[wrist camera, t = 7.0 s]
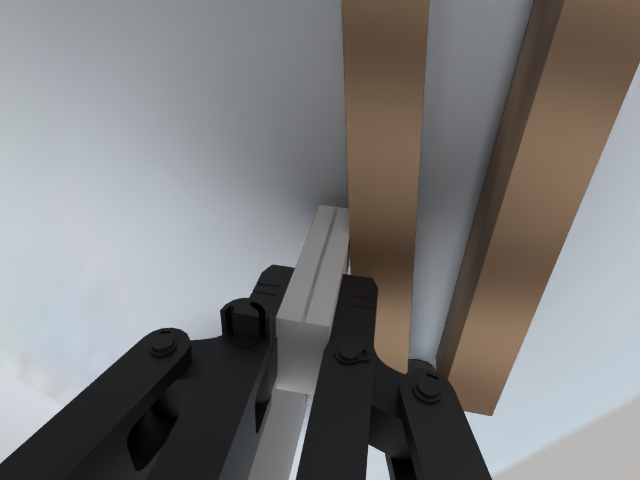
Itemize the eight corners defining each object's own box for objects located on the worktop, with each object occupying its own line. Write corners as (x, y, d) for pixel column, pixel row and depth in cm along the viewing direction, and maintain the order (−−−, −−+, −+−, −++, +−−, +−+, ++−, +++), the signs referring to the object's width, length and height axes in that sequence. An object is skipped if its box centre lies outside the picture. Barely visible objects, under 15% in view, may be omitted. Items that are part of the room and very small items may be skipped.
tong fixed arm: (471, -30, 12) (499, -42, 9) (622, -23, 12) (722, -32, 8) (387, 387, 22) (383, 468, 18) (468, 402, 21) (481, 488, 18)
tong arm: (353, -20, 13) (341, -24, 10) (426, -26, 12) (431, -32, 10) (360, 355, 21) (355, 401, 18) (405, 359, 20) (405, 407, 18)
